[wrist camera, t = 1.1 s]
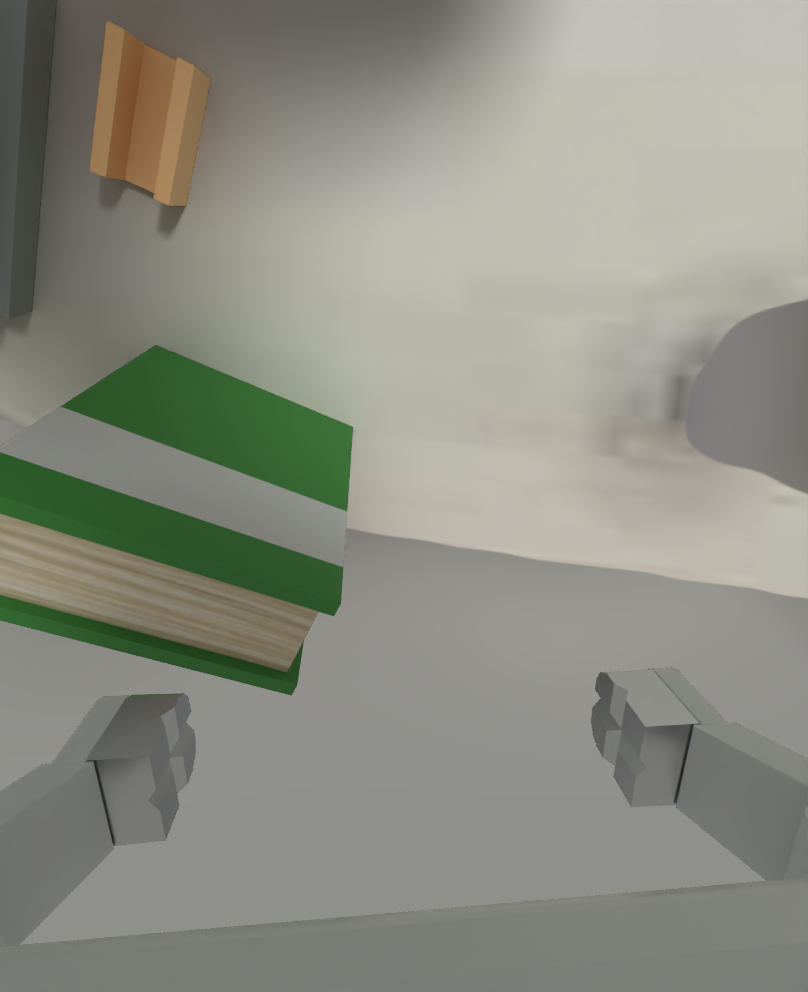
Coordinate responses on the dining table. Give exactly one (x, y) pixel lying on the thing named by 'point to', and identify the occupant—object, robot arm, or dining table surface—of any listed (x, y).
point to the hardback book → (177, 520)
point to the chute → (147, 117)
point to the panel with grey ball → (22, 143)
